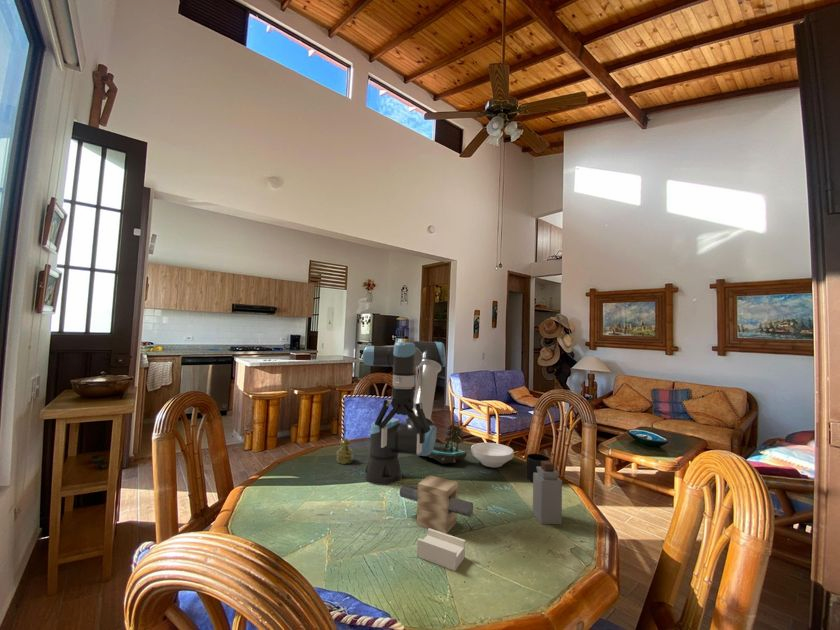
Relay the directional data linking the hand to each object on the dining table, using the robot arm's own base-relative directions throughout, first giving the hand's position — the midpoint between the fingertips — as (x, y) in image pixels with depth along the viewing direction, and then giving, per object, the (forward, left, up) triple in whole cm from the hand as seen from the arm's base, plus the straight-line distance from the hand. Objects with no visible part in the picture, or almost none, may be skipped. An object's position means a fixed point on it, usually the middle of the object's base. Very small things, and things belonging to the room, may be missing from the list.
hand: (401, 449), depth 123 cm
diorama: (-10, +52, -20) cm, 57 cm away
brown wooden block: (+16, -2, -19) cm, 25 cm away
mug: (+37, +52, -20) cm, 67 cm away
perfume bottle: (+45, +20, -19) cm, 53 cm away
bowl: (+14, +58, -20) cm, 63 cm away
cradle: (+24, -17, -19) cm, 35 cm away
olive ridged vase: (-44, +23, -20) cm, 54 cm away
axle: (+15, -2, -14) cm, 21 cm away
